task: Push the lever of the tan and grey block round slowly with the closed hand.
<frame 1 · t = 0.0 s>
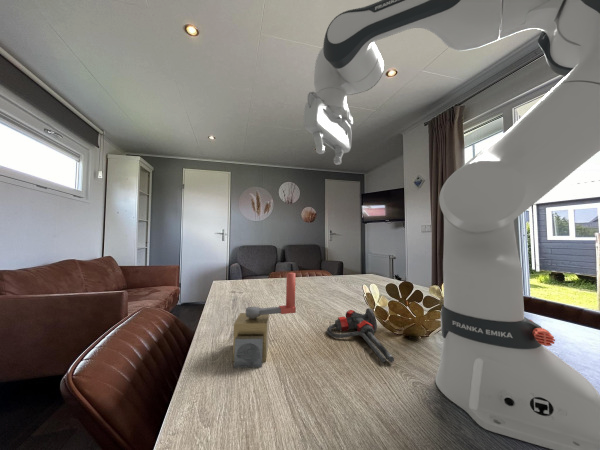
hand: (329, 158, 60), 48 cm above the table, tool pointing down, fingers open, 8 cm apart
valve: (356, 341, 61), on the table
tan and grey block: (251, 353, 52), on the table
lever: (271, 293, 54), point 13 cm above the table, hinge at 15.0°
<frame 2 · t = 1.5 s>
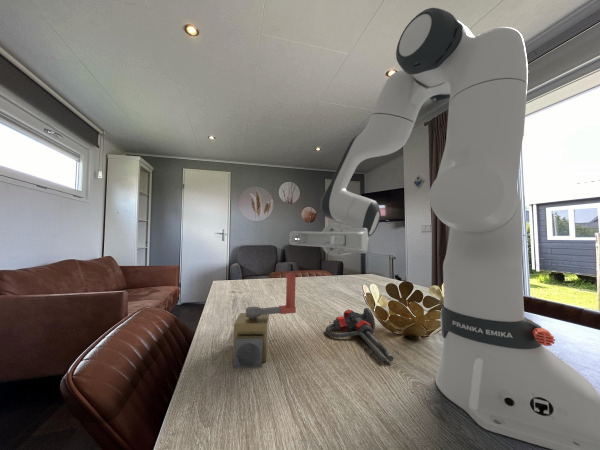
hand: (309, 239, 51), 26 cm above the table, tool horizontal, fingers open, 8 cm apart
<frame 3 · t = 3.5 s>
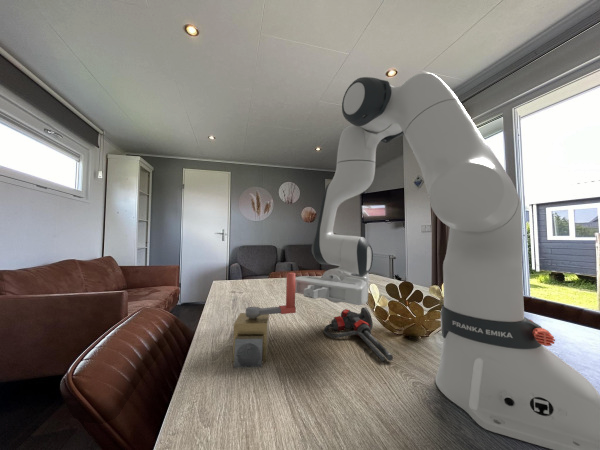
hand: (308, 294, 50), 14 cm above the table, tool horizontal, fingers closed
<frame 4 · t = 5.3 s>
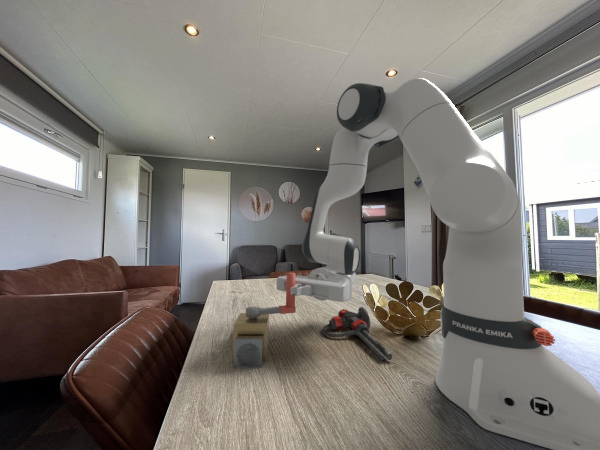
hand: (293, 291, 53), 14 cm above the table, tool horizontal, fingers closed
lever: (271, 293, 54), point 13 cm above the table, hinge at 15.5°, touching gripper
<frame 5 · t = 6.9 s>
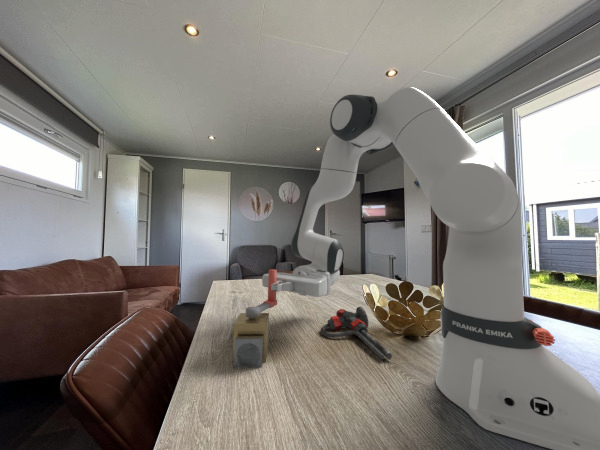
hand: (274, 287, 58), 14 cm above the table, tool horizontal, fingers closed
lever: (263, 291, 56), point 13 cm above the table, hinge at 64.5°, touching gripper
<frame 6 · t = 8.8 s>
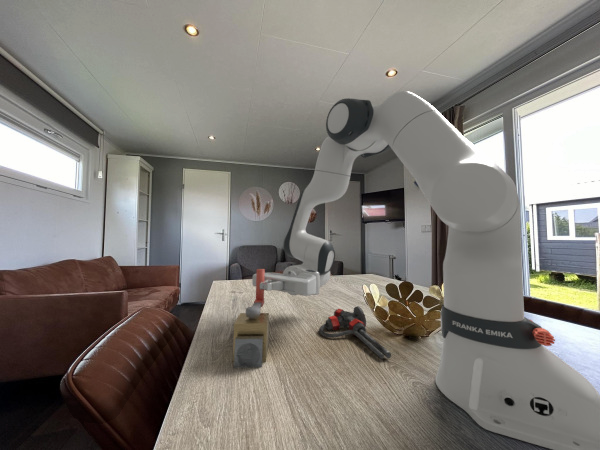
hand: (263, 286, 59), 14 cm above the table, tool horizontal, fingers closed
lever: (256, 290, 57), point 13 cm above the table, hinge at 86.4°
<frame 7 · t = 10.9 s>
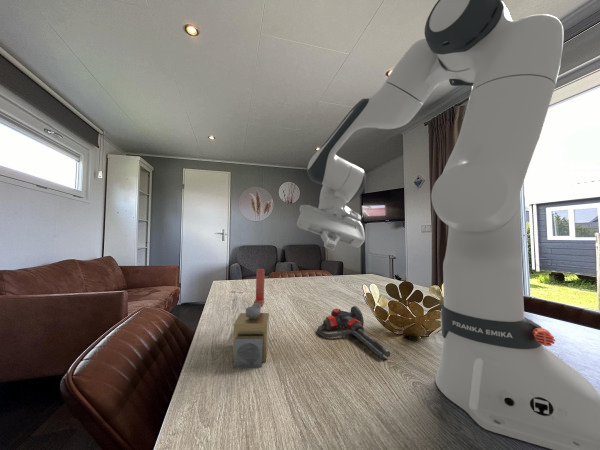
hand: (330, 246, 61), 24 cm above the table, tool tilted 45°, fingers closed
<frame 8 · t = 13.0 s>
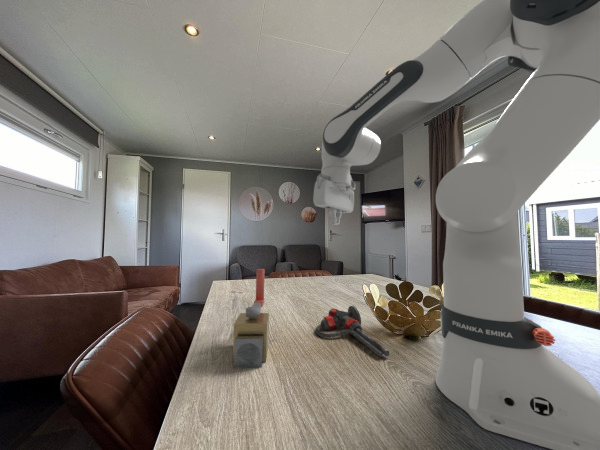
hand: (334, 224, 69), 31 cm above the table, tool pointing down, fingers closed
at the end: lever at +86° (first picture: +15°) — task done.
